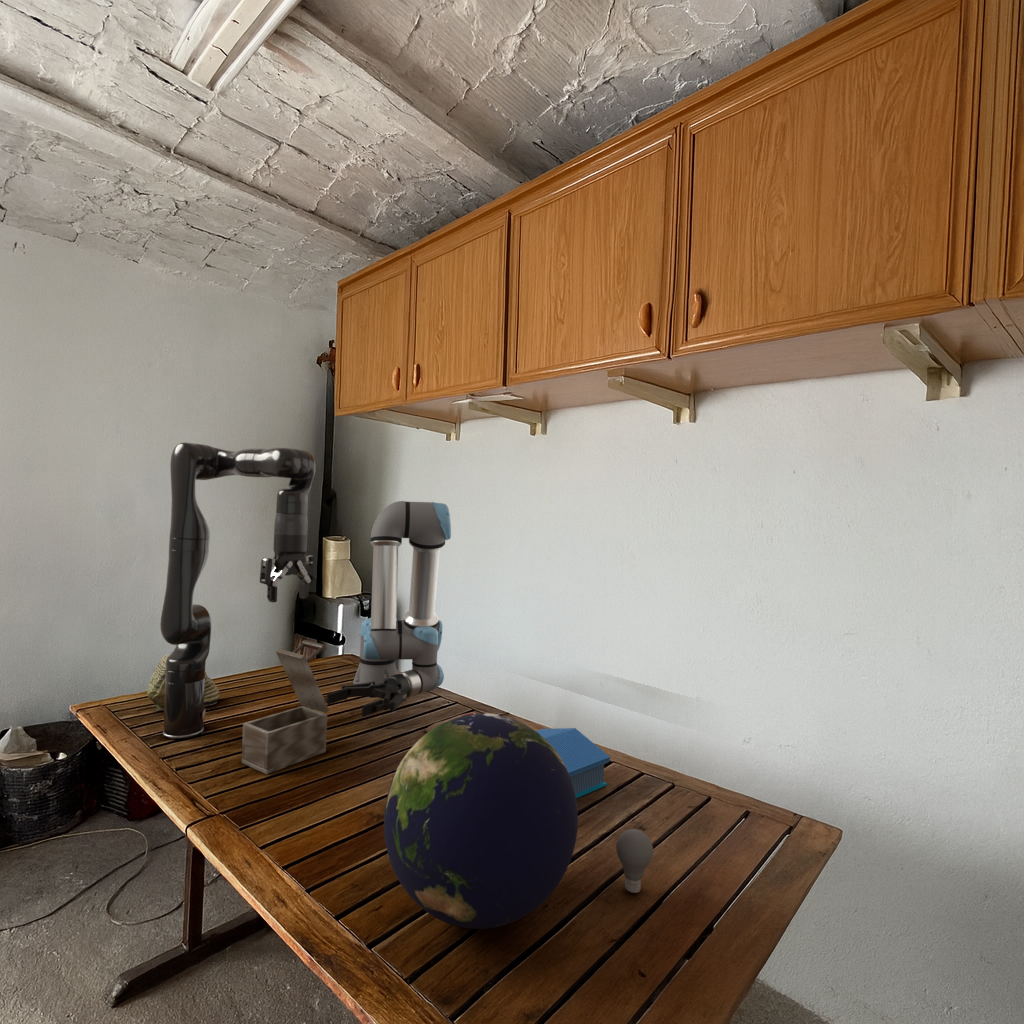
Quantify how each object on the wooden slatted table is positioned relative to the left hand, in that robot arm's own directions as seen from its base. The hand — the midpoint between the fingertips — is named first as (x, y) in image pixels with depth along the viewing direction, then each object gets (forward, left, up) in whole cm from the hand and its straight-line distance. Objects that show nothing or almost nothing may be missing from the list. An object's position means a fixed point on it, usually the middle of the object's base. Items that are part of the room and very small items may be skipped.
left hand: (288, 600), depth 151 cm
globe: (+73, 0, -38) cm, 82 cm away
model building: (+49, +32, -38) cm, 70 cm away
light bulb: (+86, +23, -38) cm, 96 cm away
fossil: (-52, -7, -38) cm, 65 cm away
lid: (-1, +4, -21) cm, 21 cm away
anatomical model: (+10, +44, -38) cm, 59 cm away
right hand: (-4, +18, -30) cm, 35 cm away
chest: (0, +1, -38) cm, 38 cm away
